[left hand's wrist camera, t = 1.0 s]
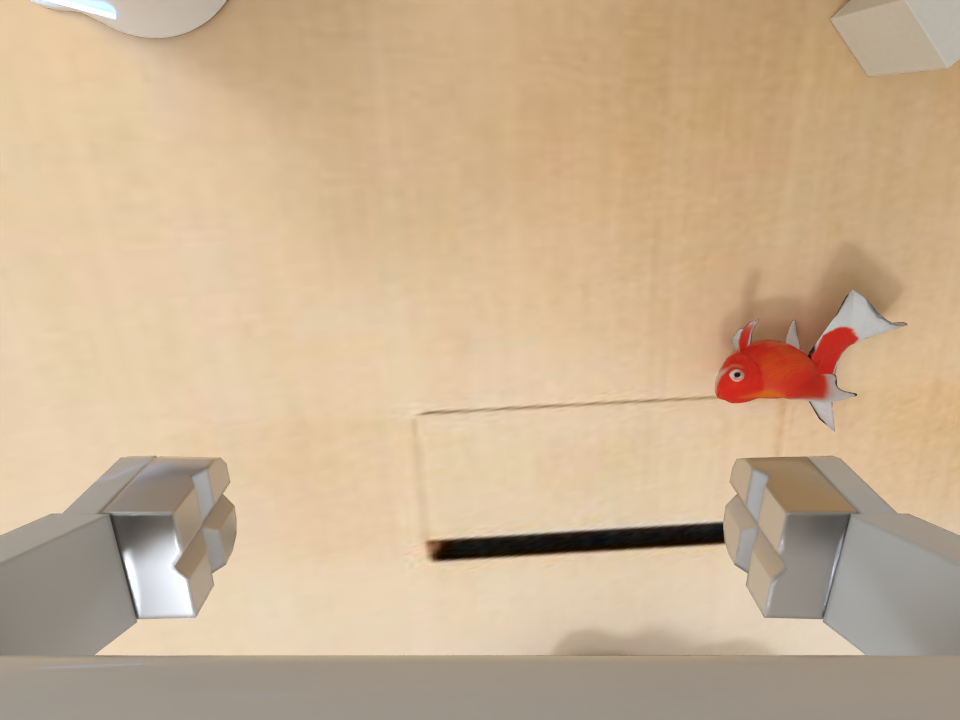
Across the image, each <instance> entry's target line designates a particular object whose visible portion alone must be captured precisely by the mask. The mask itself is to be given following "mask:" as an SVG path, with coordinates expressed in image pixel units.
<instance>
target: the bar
mask: <svg viewBox="0 0 960 720" xmlns="http://www.w3.org/2000/svg"><path fill="white" fill-rule="evenodd" d="M830 21H831V22H832V24H833V25H834V26H835V28H836V29H837V31H838V32H839V34H840V35H841V37H842V38H843V40H844V41H845V43H846V44H847V46H848V47H849V49H850V50H851V52H852V53H853V55H854V56H855V58H856V59H857V61H858V62H859V64H860V65H861V66H862V68H863V69H864V71H865V72H866V74H867V75H868V76H869V77H870V76H880V75H890V74H900V73H910V72H920V71H930V70H939V69H948V68H950V67H951V66H952V65H953V64H954V63H956V62H957V61H958V60H959V59H960V0H850V1H849V2H848V3H847V4H846V5H845V6H844V7H842V8H841V9H840V10H839V11H838V12H837V13H836V14H835V15H834V16H833V17H831V18H830Z"/></svg>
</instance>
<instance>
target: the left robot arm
mask: <svg viewBox="0 0 960 720" xmlns="http://www.w3.org/2000/svg"><path fill="white" fill-rule="evenodd" d="M30 1H32V2H33V3H36V4H38V5H40V6H43V7H45V8H49V9H54V10H62V11H75V12H80V13H83V14H86V15H88V16H90V17H92V18H94V19H95V20H97V21H99V22H101V23H103V24H105V25H107V26H109V27H111V28H113V29H115V30H118V31H120V32H123V33H126V34H130V35H133V36H138V37H144V38H168V37H174V36H178V35H181V34H185V33H187V32H190V31H192V30H194V29H196V28H198V27H200V26H201V25H203V24H204V23H206V22H207V21H208V20H210V19H211V18H212V17H213V16H214V15H215V14H216V13H217V12H218V11H219V10H220V9H221V8H222V6H223V5H224V4H225V2H226V1H227V0H30ZM229 483H230V478H229V473H228V469H227V464H226V463H225V462H224V461H223V460H222V459H221V458H214V457H162V456H160V457H157V456H129V457H122V458H120V459H119V460H118V461H117V462H116V463H115V464H114V465H112V466H111V467H110V468H109V469H108V470H107V471H106V472H105V473H104V474H103V475H102V476H101V477H100V478H99V479H98V480H97V481H96V482H95V483H94V484H93V485H92V486H91V487H90V488H88V489H87V490H86V491H85V492H84V493H83V494H82V495H81V496H80V497H79V498H78V499H77V500H76V501H75V502H74V503H73V504H72V505H71V506H70V507H69V508H68V509H67V510H65V511H64V512H63V513H62V514H50V515H48V516H45V517H43V518H40V519H38V520H36V521H33V522H31V523H29V524H26V525H24V526H22V527H19V528H17V529H15V530H12V531H10V532H8V533H5V534H3V535H1V536H0V720H960V536H959V535H957V534H955V533H952V532H950V531H948V530H945V529H943V528H941V527H938V526H936V525H934V524H931V523H929V522H927V521H924V520H922V519H920V518H917V517H915V516H912V515H910V514H898V513H897V512H896V511H895V510H894V509H892V508H891V507H890V506H889V505H888V504H887V503H886V502H885V501H884V500H883V499H882V498H881V497H880V496H879V495H878V494H877V493H876V492H875V491H874V490H873V489H872V488H871V487H870V486H869V485H868V484H866V483H865V482H864V481H863V480H862V479H861V478H860V477H859V476H858V475H857V474H856V473H855V472H854V471H853V470H852V469H851V468H850V467H849V466H848V465H847V464H846V463H845V462H844V461H843V460H841V459H840V458H837V457H834V456H812V457H770V458H741V459H736V461H735V463H734V466H733V468H732V472H731V478H730V483H731V485H732V486H733V488H734V489H735V491H736V492H737V495H736V496H735V497H734V498H733V499H732V500H731V501H730V502H729V503H728V504H727V505H726V507H725V514H724V522H723V527H724V539H725V544H726V547H727V550H728V553H729V555H730V557H731V559H732V561H733V563H734V565H736V566H737V567H739V568H740V569H742V570H743V571H745V572H747V573H748V577H747V582H746V586H747V588H748V590H749V591H750V593H751V595H752V597H753V598H754V600H755V602H756V604H757V606H758V607H759V609H760V611H761V613H762V614H763V616H764V618H800V619H823V622H824V623H825V624H826V625H828V626H829V627H830V628H832V629H833V630H834V631H836V632H837V633H838V634H839V635H841V636H842V637H843V638H845V639H846V640H847V641H849V642H850V643H851V644H852V645H854V646H855V647H856V648H858V649H859V650H860V651H862V652H863V653H864V654H865V655H95V654H96V653H97V652H99V651H100V650H101V649H103V648H104V647H105V646H106V645H108V644H109V643H110V642H112V641H113V640H114V639H116V638H117V637H118V636H119V635H121V634H122V633H123V632H125V631H126V630H127V629H129V628H130V627H131V626H133V625H134V624H135V623H136V622H137V619H160V618H195V617H196V616H197V614H198V613H199V611H200V609H201V607H202V606H203V604H204V602H205V600H206V599H207V597H208V595H209V593H210V591H211V590H212V588H213V586H214V582H213V577H212V573H213V572H215V571H217V570H218V569H220V568H221V567H223V566H224V565H226V563H227V561H228V559H229V557H230V555H231V553H232V551H233V546H234V542H235V538H236V513H235V506H234V505H233V504H232V503H231V502H230V501H229V500H228V499H227V498H226V497H225V496H224V495H223V492H224V491H225V489H226V488H227V486H228V485H229Z"/></svg>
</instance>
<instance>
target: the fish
mask: <svg viewBox="0 0 960 720" xmlns="http://www.w3.org/2000/svg"><path fill="white" fill-rule="evenodd" d="M758 321H759V318H758V319H757V320H755V321H752V322H750V323H749V324H748V325H747V326H746V327H745V328H744V329H739V330H738V331H737V333H736V334H735V336H734V338H733V340H732V343H733V345H734V347H735V351H733V352H732V353H731V354H730V355H729V357H728V358H727V359H726V360H725V362H724V364H723V365H722V367H721V369H720V371H719V373H718V375H717V377H716V381H715V393H716V395H717V397H718V398H720V399H723V400H726V401H728V402H730V403H743V402H748V401H751V400H754V399H757V398H787V399H794V400H803V401H809V402H810V404H811V406H812V407H813V409H814V411H815V412H816V414H817V416H818V418H819V419H820V420H821V421H822V422H824V423H825V424H826V425H827V426H828V427H830V428H831V429H832V430H833V431H834V432H835V428H834V420H833V412H832V402H835V401H840V400H843V399H847V398H851V397H854V396H856V395H857V394H855V393H850V392H846V391H843V390H840V389H839V388H838V387H837V378H836V375H835V372H836V367H837V363H838V361H839V359H840V357H841V355H842V353H843V352H844V351H845V350H846V348H847V347H849V346H850V345H851V344H854V343H856V342H859V341H861V340H864V339H866V338H869V337H872V336H874V335H877V334H880V333H884V332H887V331H890V330H893V329H896V328H899V327H902V326H906V325H907V323H904V322H896V323H891V322H889V321H888V320H886V319H885V318H884V317H883V316H882V315H880V314H879V313H878V312H877V311H876V310H875V309H874V308H873V306H872V305H871V304H870V303H869V301H868V300H867V299H866V298H864V297H863V296H861V295H860V294H859V293H857V292H856V291H854V290H853V289H852V291H851V292H850V293H849V294H848V295H847V296H846V298H845V299H844V301H843V303H842V305H841V307H840V309H839V311H838V313H837V315H836V316H835V317H834V319H833V320H832V322H831V323H830V324H829V326H828V327H827V328H826V330H825V331H824V333H823V334H822V335H821V337H820V338H819V340H818V341H817V343H816V344H815V345H814V347H813V348H812V350H811V351H810V353H809V355H808V356H807V355H806V354H804V353H803V352H802V351H800V349H801V348H800V342H799V339H798V335H797V329H796V323H795V321H792V323H791V326H790V328H789V331H788V334H787V338H786V343H784V342H780V341H775V340H760V341H754V342H751V335H752V331H753V329H754V327H755V326H756V324H757V323H758Z"/></svg>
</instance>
